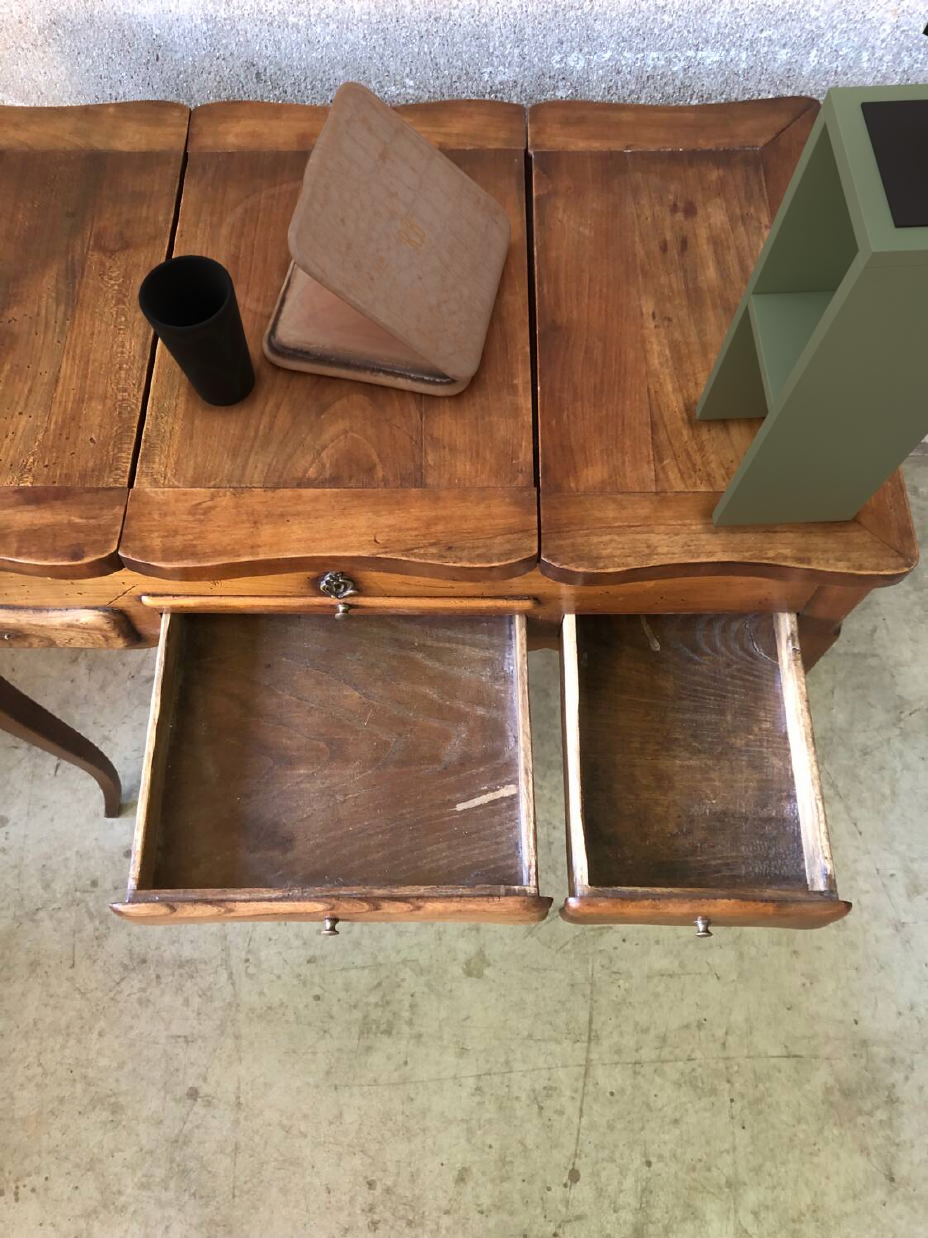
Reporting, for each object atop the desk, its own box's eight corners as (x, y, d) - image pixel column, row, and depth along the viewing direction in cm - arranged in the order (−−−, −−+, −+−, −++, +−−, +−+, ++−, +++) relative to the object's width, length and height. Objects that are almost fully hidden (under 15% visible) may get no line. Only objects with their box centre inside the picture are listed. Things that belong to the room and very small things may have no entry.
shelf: (824, 403, 79) (1039, 74, 49) (850, 520, 75) (1102, 238, 45) (694, 409, 79) (830, 83, 49) (713, 526, 75) (874, 248, 45)
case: (472, 408, 80) (471, 284, 65) (255, 367, 82) (206, 237, 66) (516, 238, 87) (525, 91, 72) (315, 204, 88) (283, 54, 73)
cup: (262, 416, 80) (227, 330, 68) (179, 415, 80) (131, 329, 69) (269, 347, 82) (237, 253, 71) (190, 347, 82) (145, 253, 71)
